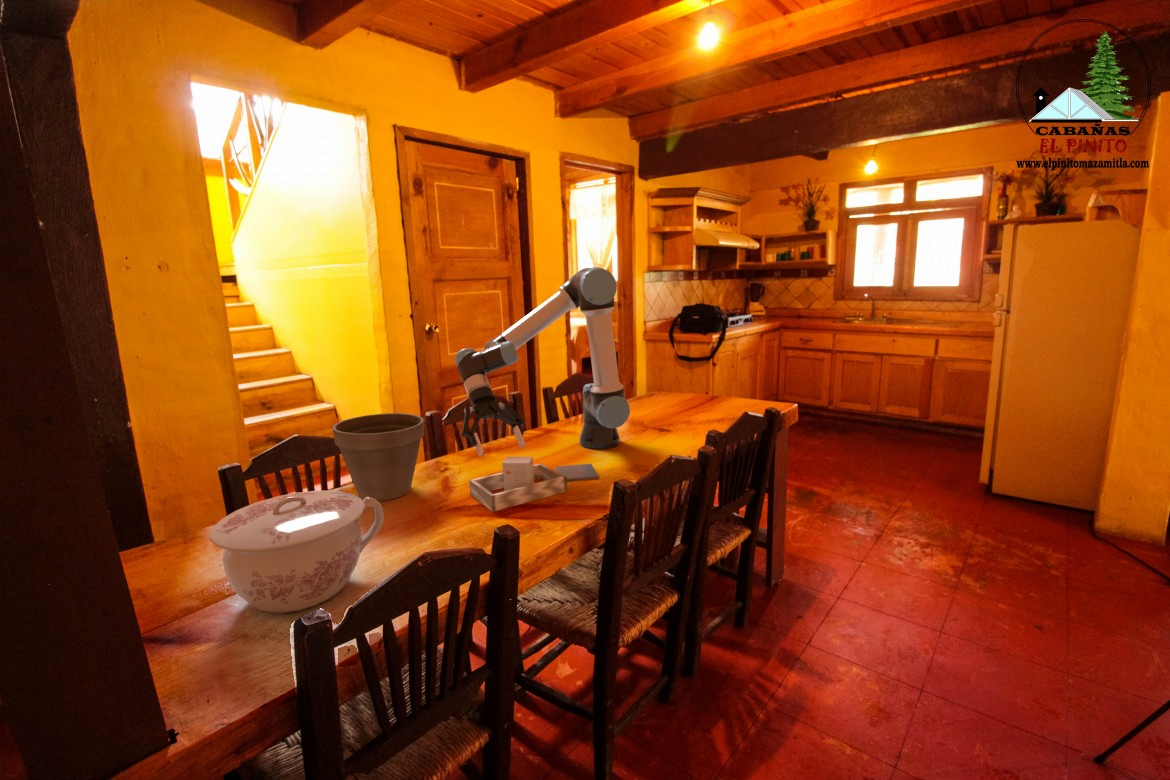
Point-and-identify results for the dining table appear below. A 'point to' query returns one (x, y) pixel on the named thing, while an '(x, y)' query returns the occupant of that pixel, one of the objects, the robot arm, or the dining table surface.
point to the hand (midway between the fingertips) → (502, 449)
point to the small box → (517, 472)
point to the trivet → (577, 472)
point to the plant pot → (380, 452)
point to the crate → (502, 500)
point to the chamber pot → (294, 547)
